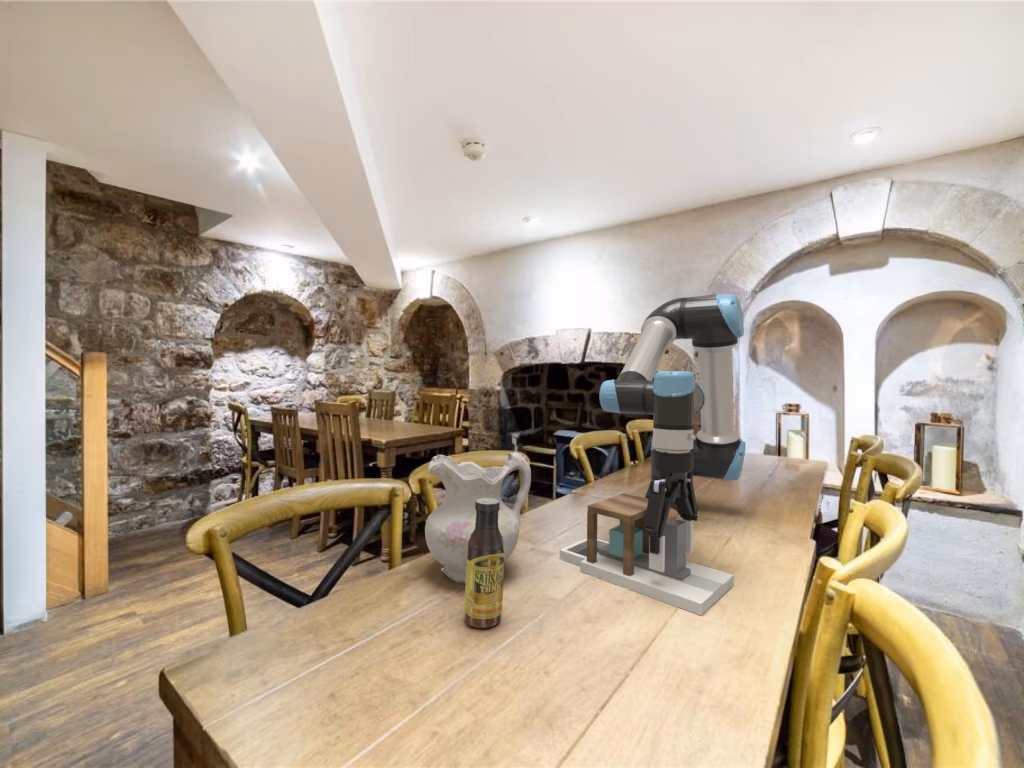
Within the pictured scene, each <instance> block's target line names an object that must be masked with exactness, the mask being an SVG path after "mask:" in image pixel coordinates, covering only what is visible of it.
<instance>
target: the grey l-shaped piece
mask: <svg viewBox="0 0 1024 768" xmlns="http://www.w3.org/2000/svg"><path fill="white" fill-rule="evenodd" d="M662 536H665V567H664V572H663V573H662V572H659V571H656V570H653V569H650V568H649V556H647V555H643V554H640V555H639V556H637V557H635V558H634V565H636V566H639V567H642V568H645V569H648V570H651V571H654V572H657V573H660V574H664V575H667V576H670V577H673V578H676V579H679V580H683V579H684V578H686V577H687V576H689V575H690V574H691V569H690V568H686V561H687V553H686V522H685V521H681V520H677V519H672V518H668V517H667V521H666V524H665V528H664V531H663V534H662ZM598 553H599V554H602V555H605V556H608V557H611V558H614V559H617V560H620V561H623V557H620V556H616V555H613V554H610V553H609V544H607V545H605V546H603V547H601V548H599V549H598Z"/></svg>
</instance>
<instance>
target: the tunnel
mask: <svg viewBox="0 0 1024 768" xmlns="http://www.w3.org/2000/svg"><path fill="white" fill-rule="evenodd" d="M648 500H649V499H647V498H645V497H641V496H639V495H638V496H636V495H631V494H627V493H621V494H617V495H614V496H612V497H608V498H606V499H603V500H600V501H597V502H593V503H591V504H589V505H587V511H586V512H587V513H586V538H587V562H589V563H592V564H593V563H595V562H597V539H598V515H600V516H604V517H608V518H612V519H616V520H619V525H621V524H623V525H624V532H623V574H624V575H627V576H629V577H630V576H632V575H633V574H634V528H638V529H642V530H643V526H644V520H645V515H646V510H647V505H648ZM643 553H646V554H649V535H648V534H645V533H643Z"/></svg>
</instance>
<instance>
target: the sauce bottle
mask: <svg viewBox="0 0 1024 768" xmlns="http://www.w3.org/2000/svg"><path fill="white" fill-rule="evenodd" d="M475 509H476V523H475V530H474V531H473V532H472V534H471V537H470V539H469V542H468V555H467V563H466V584H465V588H464V589H465V591H464V612H465V613H464V616H465V617H464V619H465V623H467V625H469V626H470V627H473V628H476V629H489V628H492V627H494V626H496V625H497V624H499V623H500V621H501V617H502V612H503V601H504V600H503V597H504V570H505V568H504V567H505V562H504V547H503V538H502V535H501V533H500V531H499V528H498V511H499V509H500V502H499V500H497V499H493V498H481V499H477V500H476V503H475Z"/></svg>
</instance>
